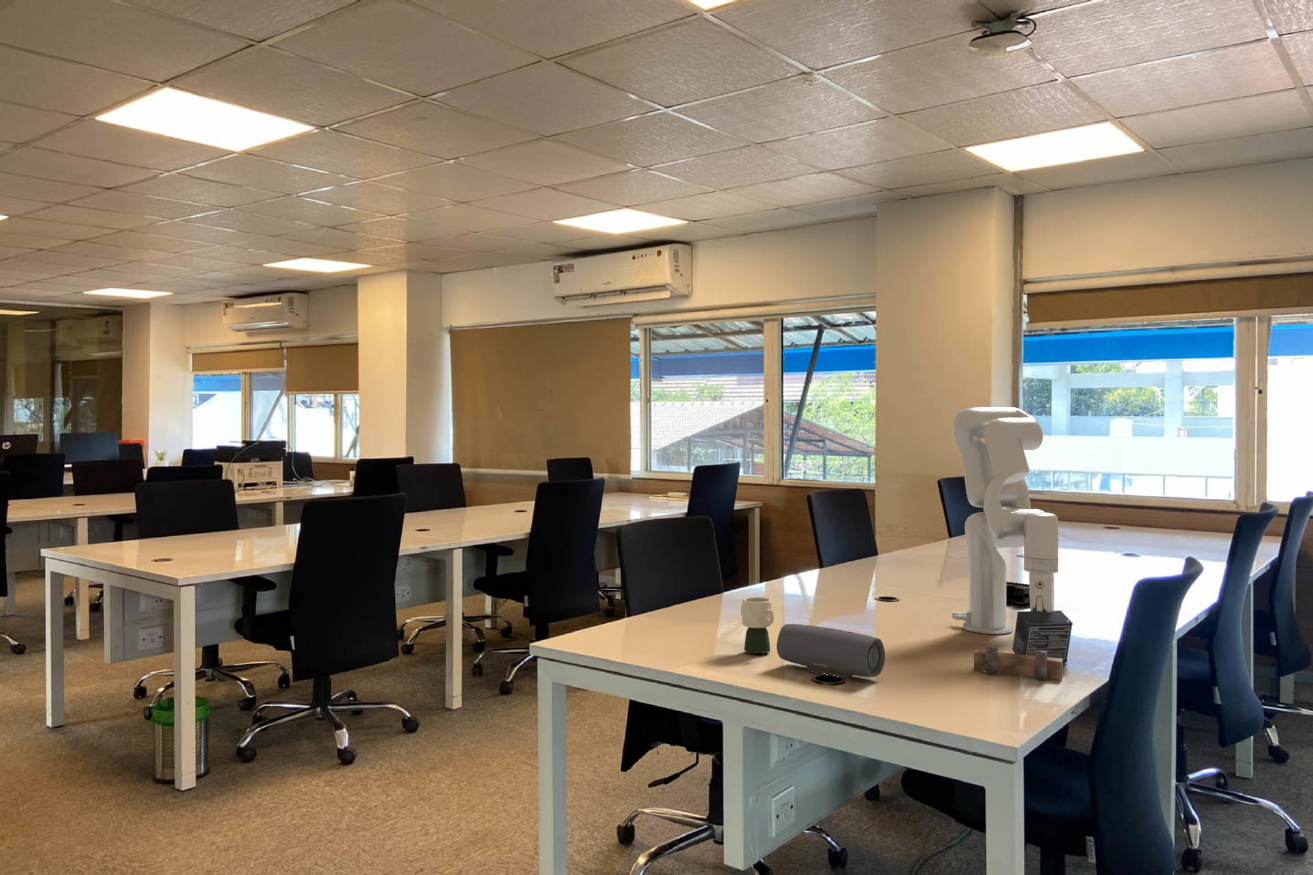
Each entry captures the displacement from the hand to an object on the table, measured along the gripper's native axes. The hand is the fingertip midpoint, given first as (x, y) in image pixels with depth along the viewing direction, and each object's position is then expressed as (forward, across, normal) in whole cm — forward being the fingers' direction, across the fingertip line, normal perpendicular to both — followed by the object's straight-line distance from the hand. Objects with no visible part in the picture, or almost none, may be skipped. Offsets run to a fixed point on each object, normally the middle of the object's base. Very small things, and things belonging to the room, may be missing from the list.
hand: (1040, 641), depth 215 cm
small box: (+3, -4, 0) cm, 5 cm away
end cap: (+4, +66, +11) cm, 67 cm away
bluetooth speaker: (+4, -36, +41) cm, 55 cm away
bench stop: (+3, -20, +4) cm, 21 cm away
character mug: (+4, -26, +62) cm, 67 cm away
